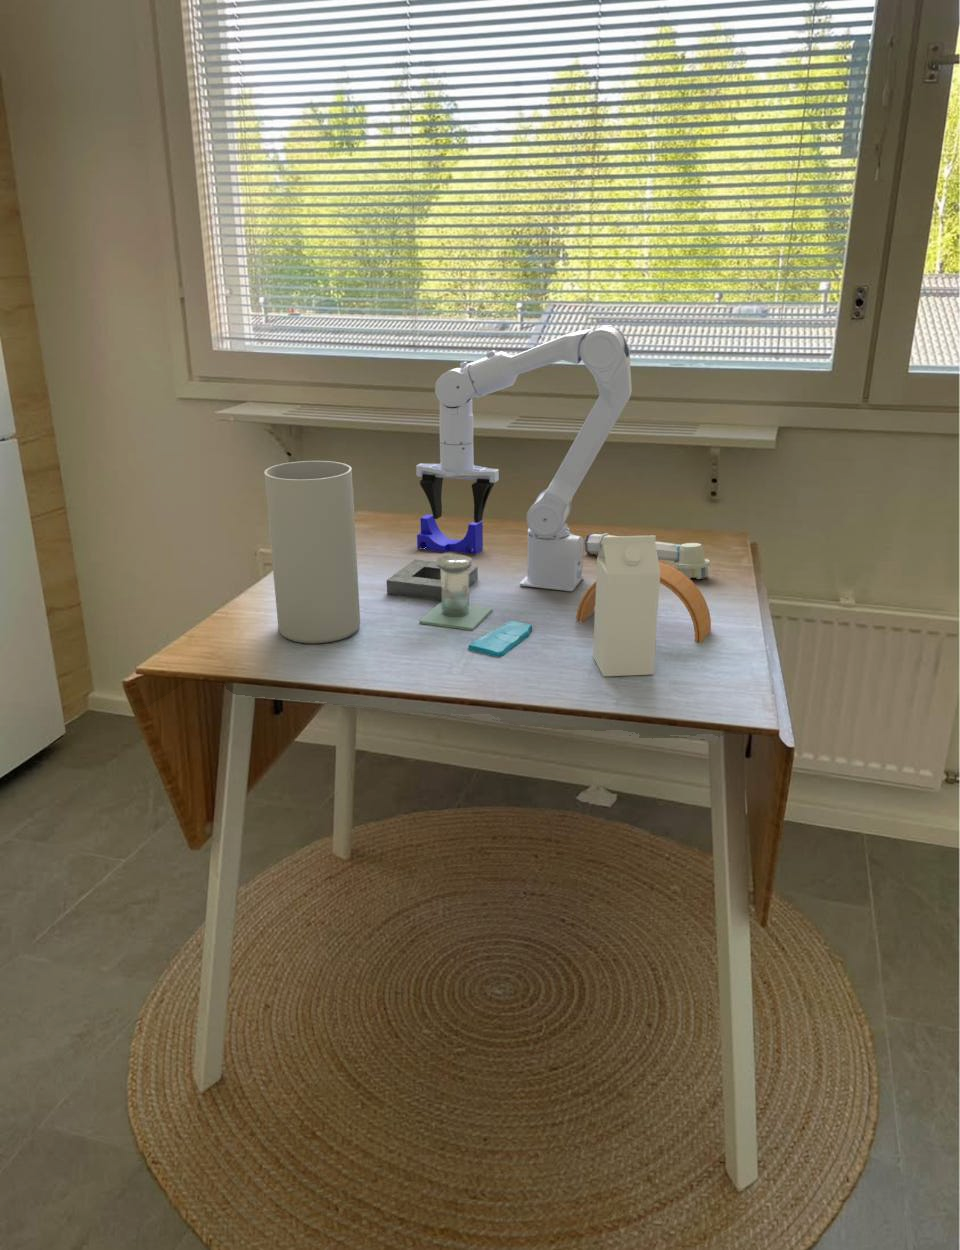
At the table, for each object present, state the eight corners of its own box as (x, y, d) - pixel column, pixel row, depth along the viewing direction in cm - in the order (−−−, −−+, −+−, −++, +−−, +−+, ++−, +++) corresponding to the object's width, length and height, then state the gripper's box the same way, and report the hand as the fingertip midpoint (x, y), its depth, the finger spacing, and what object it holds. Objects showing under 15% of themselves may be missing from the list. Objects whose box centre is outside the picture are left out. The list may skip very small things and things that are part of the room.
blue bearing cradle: (417, 549, 188) (416, 519, 186) (428, 543, 192) (428, 514, 189) (472, 557, 183) (471, 527, 181) (482, 551, 187) (482, 521, 184)
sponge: (544, 628, 147) (512, 616, 150) (499, 654, 138) (466, 641, 141) (542, 637, 148) (511, 625, 151) (498, 663, 139) (465, 650, 142)
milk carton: (592, 657, 139) (598, 529, 132) (641, 655, 139) (649, 528, 132) (602, 677, 132) (608, 545, 125) (653, 675, 133) (662, 543, 126)
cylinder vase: (377, 629, 149) (369, 469, 140) (310, 652, 141) (297, 484, 131) (327, 609, 157) (317, 457, 148) (262, 630, 149) (247, 470, 140)
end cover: (476, 608, 156) (476, 556, 153) (466, 620, 151) (465, 566, 148) (444, 604, 158) (443, 553, 154) (433, 616, 153) (432, 563, 149)
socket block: (477, 579, 170) (477, 566, 169) (452, 602, 160) (452, 588, 159) (415, 572, 174) (414, 559, 173) (387, 594, 164) (386, 580, 163)
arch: (589, 610, 157) (591, 551, 153) (711, 631, 148) (716, 569, 144) (575, 621, 152) (577, 561, 148) (700, 644, 143) (705, 581, 139)
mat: (492, 610, 156) (492, 608, 156) (473, 630, 148) (473, 628, 148) (441, 604, 159) (440, 601, 159) (419, 623, 151) (419, 620, 151)
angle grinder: (597, 530, 186) (714, 537, 169) (600, 563, 188) (715, 573, 171) (581, 536, 182) (699, 543, 166) (584, 570, 184) (700, 581, 168)
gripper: (407, 443, 162) (410, 521, 167) (489, 449, 158) (489, 529, 163) (424, 436, 169) (426, 511, 174) (502, 441, 164) (502, 518, 169)
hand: (457, 519), depth 169 cm, fingers open, 7 cm apart
